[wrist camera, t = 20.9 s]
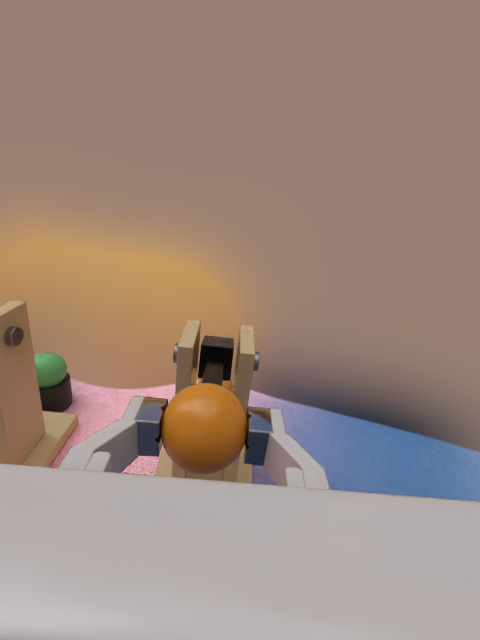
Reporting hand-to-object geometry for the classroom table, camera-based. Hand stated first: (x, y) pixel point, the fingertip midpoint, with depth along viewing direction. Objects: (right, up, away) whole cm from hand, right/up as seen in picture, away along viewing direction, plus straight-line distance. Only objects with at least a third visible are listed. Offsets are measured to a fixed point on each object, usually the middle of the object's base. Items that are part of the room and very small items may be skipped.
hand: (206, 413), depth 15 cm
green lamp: (-18, -5, +20) cm, 28 cm away
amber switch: (0, -1, +4) cm, 4 cm away
